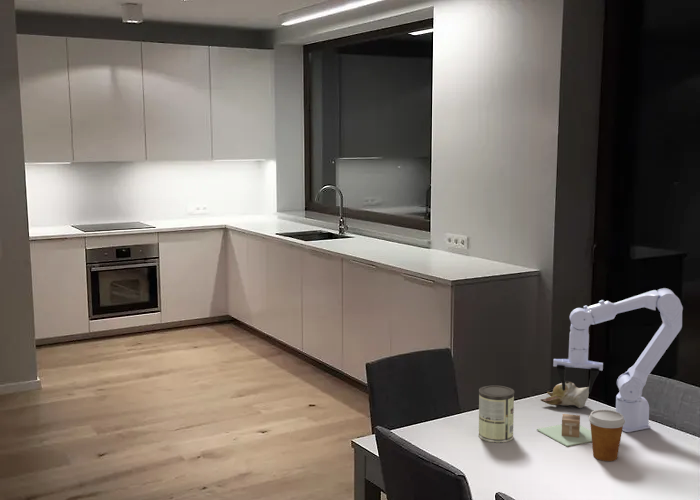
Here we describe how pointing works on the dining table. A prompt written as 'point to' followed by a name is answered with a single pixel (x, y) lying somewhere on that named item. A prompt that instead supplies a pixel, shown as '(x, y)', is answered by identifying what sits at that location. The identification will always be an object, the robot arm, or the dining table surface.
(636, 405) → the robot arm
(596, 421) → the disposable coffee cup
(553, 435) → the mat
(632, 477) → the dining table surface
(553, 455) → the dining table surface
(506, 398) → the coffee can
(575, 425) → the letter cube
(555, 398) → the ceramic sculpture
